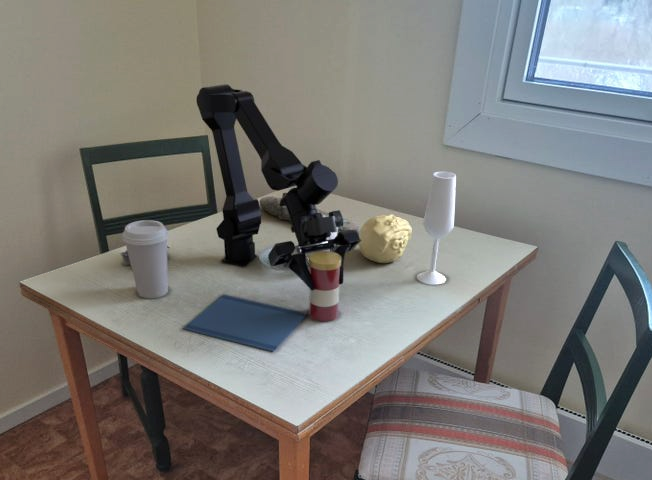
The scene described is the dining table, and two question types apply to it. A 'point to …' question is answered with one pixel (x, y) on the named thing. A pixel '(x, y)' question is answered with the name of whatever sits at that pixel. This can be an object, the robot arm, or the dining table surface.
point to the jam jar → (324, 285)
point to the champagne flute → (439, 219)
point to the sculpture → (384, 238)
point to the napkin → (246, 322)
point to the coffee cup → (148, 256)
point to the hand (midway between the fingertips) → (327, 286)
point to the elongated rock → (281, 211)
